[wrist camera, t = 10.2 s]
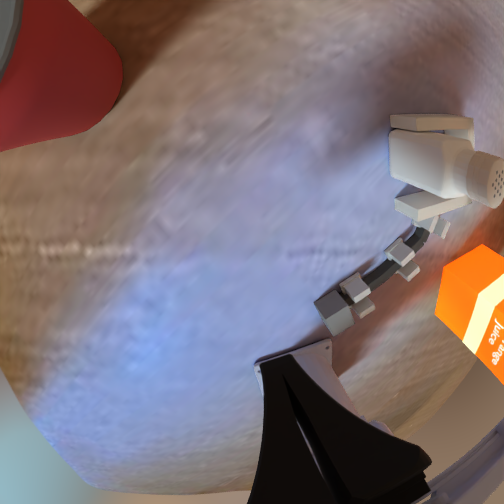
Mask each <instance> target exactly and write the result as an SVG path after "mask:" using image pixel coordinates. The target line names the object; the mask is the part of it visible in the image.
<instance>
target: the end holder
mask: <svg viewBox="0 0 504 504" xmlns="http://www.w3.org/2000/svg"><path fill="white" fill-rule="evenodd" d="M390 124H391V127H393V128H400V129H406V130H412V131H430V130H444V134H446V135H450V136H455V137H459V138H463V139H467V140H470V141H471V143H472V146H473V148H474V123H473V118H470V117H465V116H458V115H452V114H398V115H390ZM471 203H472V199H471V198H469V197H468V196H467V195H465V196H462V197H457V198H449V199H444V198H441V197H439V196H437V195H435V194H432V193H430V192H428V191H421V192H417V193H413V194H409V195H405V196H402V197H398V198H395V210H397V211H399V212H400V213H402V214H404V215H406V216H408V217H410V218H411V219H413V220H415V221H417V222H419V221H422V220H425V219H428V218H430V217H433V216H436V215H439V214H442V213H445V212H448V211H451V210H454V209H457V208H459V207H462V206H465V205H468V204H471Z"/></svg>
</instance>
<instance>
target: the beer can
mask: <svg viewBox="0 0 504 504" xmlns="http://www.w3.org/2000/svg"><path fill="white" fill-rule="evenodd" d="M122 79H123V70H122V61H121V59H120V57H119V55H118V53H117V50H116V49H115V48H114V46H113V45H112V44H111V43H110V42H109V41H108V40H107V39H106V38H105V37H104V36H103V35H102V34H101V33H100V32H99V31H98V30H97V29H96V28H95V27H94V26H93V25H92V24H91V23H90V22H89V21H88V20H87V19H86V18H85V17H84V16H83V15H82V14H81V13H80V12H79V11H78V10H77V9H76V8H75V7H74V6H73V5H72V4H71V3H70V2H69V1H68V0H0V152H2V151H5V150H9V149H13V148H16V147H20V146H24V145H28V144H33V143H37V142H41V141H46V140H51V139H56V138H61V137H67V136H72V135H75V134H78V133H81V132H84V131H87V130H88V129H90V128H91V127H93V126H94V125H95V124H97V123H98V122H100V121H101V120H102V119H103V117H104V116H105V115H106V114H107V113H108V112H109V111H110V109H111V108H112V107H113V105H114V103H115V101H116V99H117V97H118V95H119V93H120V89H121V84H122Z"/></svg>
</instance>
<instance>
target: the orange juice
mask: <svg viewBox="0 0 504 504" xmlns="http://www.w3.org/2000/svg"><path fill="white" fill-rule="evenodd" d="M435 315H436V316H437V317H439V318H440V319H441V320H442V321H443V322H444V323H445V324H446V325H447V326H448V327H449V328H450V329H451V330H452V331H453V332H454V333H455V334H456V335H457V336H458V337H459V338H460V339H461V340H462V342H463V343H464V344H465V345H466V346H467V347H468V348H469V349H470V350H471V351H472V352H473V353H474V354H476V355H477V356H478V357H479V359H480V360H481V361H483V363H484V364H485V365H486V366H487V367H488V368H489V369H490V370H491V371H492V372H493V374H494V375H495V376H496V377H497V378H498V379H499V380H500V381H501V382H502V384H503V385H504V258H503V257H502V256H500V255H499V254H497V253H495V252H494V251H492V250H491V249H489V248H488V247H486V246H484V245H483V244H482V245H480V246H478V247H477V248H475V249H473V250H472V251H470V252H468V253H467V254H465V255H463V256H462V257H460V258H458V259H456V260H455V261H453V262H451V263H449V264H448V265H446V266H444V268H443V275H442V280H441V286H440V291H439V296H438V301H437V306H436V310H435Z"/></svg>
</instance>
